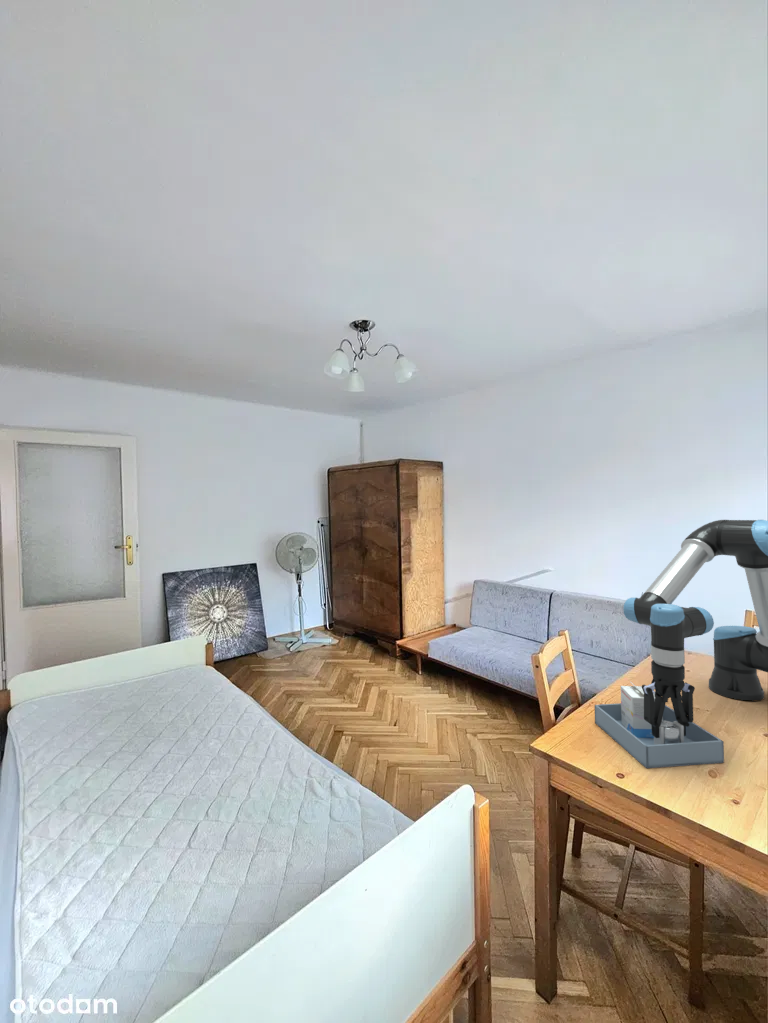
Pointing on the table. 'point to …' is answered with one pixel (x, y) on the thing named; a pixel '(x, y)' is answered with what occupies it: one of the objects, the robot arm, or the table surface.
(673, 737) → the tin
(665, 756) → the tote
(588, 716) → the table surface
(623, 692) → the ink box
